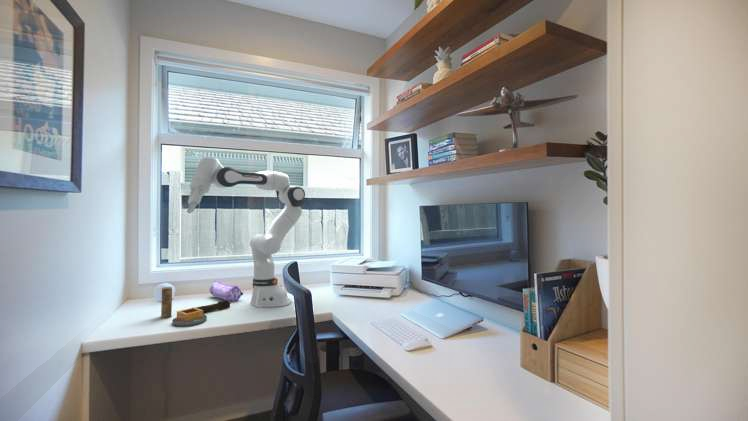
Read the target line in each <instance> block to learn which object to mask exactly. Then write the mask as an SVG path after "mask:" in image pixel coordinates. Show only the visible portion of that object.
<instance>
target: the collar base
mask: <svg viewBox="0 0 748 421" xmlns="http://www.w3.org/2000/svg"><path fill="white" fill-rule="evenodd" d="M207 319H208V316H207V315H206V314H204V313H203V310H201V309H198V308H196V307H191V308H186V309H182V310H177V311H176V317H175V318H173V319H172V321H171V322H172V323H171V324H172V326H174V327H178V328H179V327H182V328H185V327H187V328H188V327H192V326H198V325H202V324H203V323H205V322H206V321H207Z"/></svg>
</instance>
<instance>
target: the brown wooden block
mask: <svg viewBox="0 0 748 421" xmlns="http://www.w3.org/2000/svg"><path fill="white" fill-rule="evenodd" d="M172 301H173V287H172V286H164V287H161V308H160V310H161V312H160V315H161V316H160V318H161V319H166V318H167V319H168V318H172V311H173V310H172V307H173V304H172V303H173V302H172Z"/></svg>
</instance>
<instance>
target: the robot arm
mask: <svg viewBox="0 0 748 421" xmlns="http://www.w3.org/2000/svg"><path fill="white" fill-rule="evenodd" d="M190 181H191V182H190V183H189V188H190V192H189V193H190V194H189V197H188V201H187V204H188V208H187V211H186V212H187V213H189V214H191V213H194V212H195V209H196V207H197V205H199V204H200V203H201V201H202V198H203V196H204V195H205V194H208V193H209V191H210V188H211V186H212V185H214V186H216V187H218V188H219V189H221V188H222V189H224V188H232V187H235V186H238V185H254V186H256V187H257V188H258V189H259V190H264V191H275V193H276V198H277V200H278V202H279V203H280V204H283V205H284V208H283V209H282V210H281V211H280V212H279V213H278V215H276V217H275V218H274V219H273V220H272V221H271V222H270V224H269V228H267V231H266V232H265V233H258V234H255V235H253V236H252V237H251V238H250V241H249V246H250V248H251V254H252V260H253V277H252V294H251V300H250V303H249V304H250V306H254V307H255V308H270V307H272V308H274V307H286V306H288V305H290V304H291V303H292V299H291V298H290V297H288V291H287V290H286V289H285V288H283V287H282V286H280V285H279V284H278V281H279V279H278V277H277V278H276V277H275V261H274V259H273V255H274V254H275V255H276V254H277V253H278V252H279V251H280V249H281V247H282V242H283V240H284V239H285V237H286V236H287V234H288V233H289V231H290V230H291V229H292V228H293V227H294V226H295V225H296V224H297V222H298V221H299V219H300V218H301V216H302V213H303V211H302V207H301V206H303V202H304V200H305V198H306V197H305V196H306V192H305V189H304V188H302V187H301V186H299V185H291V183H290V177H289V176H288V175H287V174H286V173H283V172H280V171H273V170H272V171H271V170H263V171H257V172H250V171H249V172H248V171H240V170H238V169H236V168H234V167H231V166H225V167H224V166H223V165H222V164H221V163H220V161H219V159H217V158H216V157H212V156H204V157H202V158H201V159H200V160H199V162H198V164H197V167H196V169H195V173H194V175H193V177H192V179H191V180H190Z"/></svg>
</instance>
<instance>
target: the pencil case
mask: <svg viewBox="0 0 748 421" xmlns="http://www.w3.org/2000/svg"><path fill="white" fill-rule="evenodd" d="M214 281H215V282H213V283H211V285H210V288H209V293H210V295H211V296H213V297H216V298H218V299H221V300H222V301H224V300H228V301H229V303H234V302H237V301H239V299H241V297H242V296H243V294H244V292H243V291H242V290H241V289H240V287H239V285H228V284H224V283H223V282H222V281H220V280H214Z"/></svg>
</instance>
